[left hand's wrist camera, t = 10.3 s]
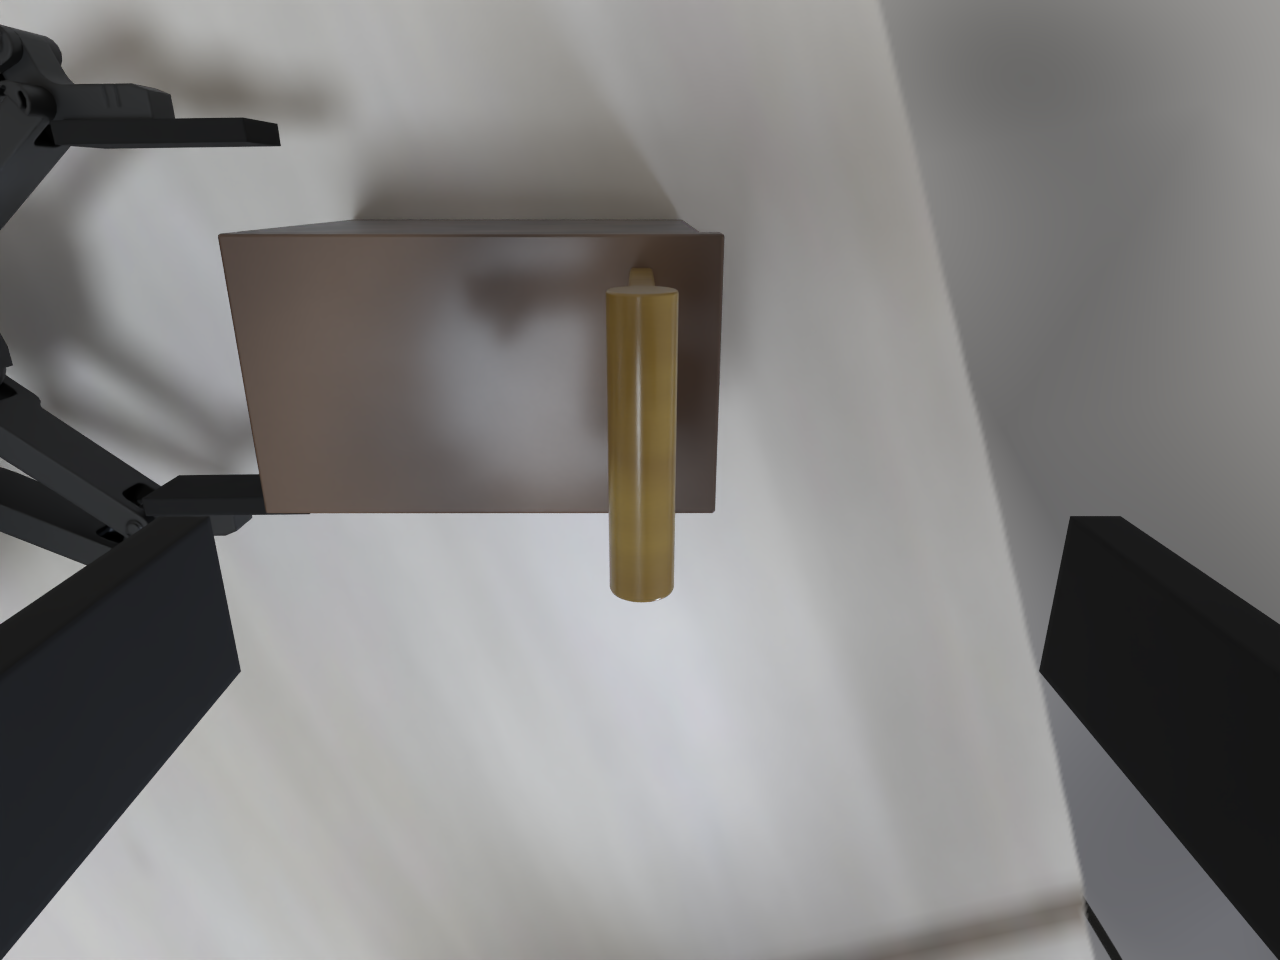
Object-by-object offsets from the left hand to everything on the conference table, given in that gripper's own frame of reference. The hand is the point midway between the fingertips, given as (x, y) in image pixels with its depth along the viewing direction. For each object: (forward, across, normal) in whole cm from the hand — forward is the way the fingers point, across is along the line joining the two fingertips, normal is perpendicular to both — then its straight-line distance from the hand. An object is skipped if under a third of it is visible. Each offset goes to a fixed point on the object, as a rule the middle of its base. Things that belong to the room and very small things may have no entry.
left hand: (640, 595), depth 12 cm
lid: (+15, +5, 0) cm, 16 cm away
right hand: (+20, +13, -1) cm, 24 cm away
